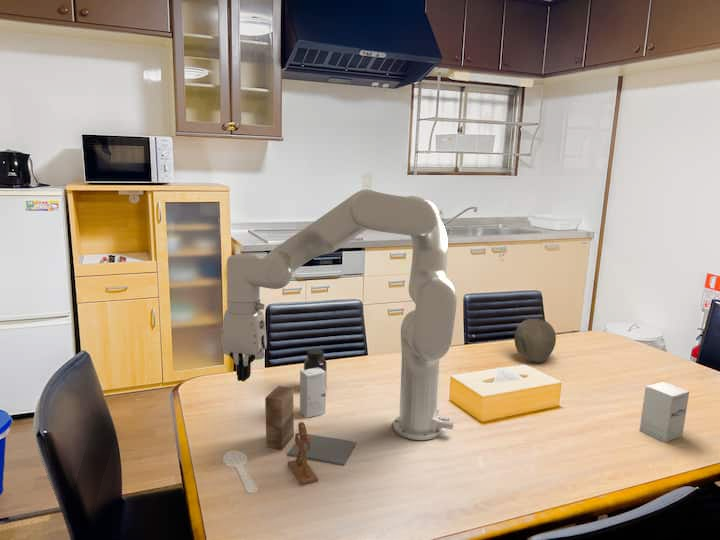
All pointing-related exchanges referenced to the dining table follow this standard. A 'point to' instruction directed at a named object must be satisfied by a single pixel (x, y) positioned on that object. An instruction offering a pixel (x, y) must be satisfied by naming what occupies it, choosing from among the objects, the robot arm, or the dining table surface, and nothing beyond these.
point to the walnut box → (279, 417)
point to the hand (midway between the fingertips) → (243, 378)
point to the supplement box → (664, 411)
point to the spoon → (240, 468)
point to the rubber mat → (326, 449)
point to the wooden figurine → (302, 459)
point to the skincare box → (312, 392)
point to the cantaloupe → (535, 339)
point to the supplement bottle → (315, 360)
